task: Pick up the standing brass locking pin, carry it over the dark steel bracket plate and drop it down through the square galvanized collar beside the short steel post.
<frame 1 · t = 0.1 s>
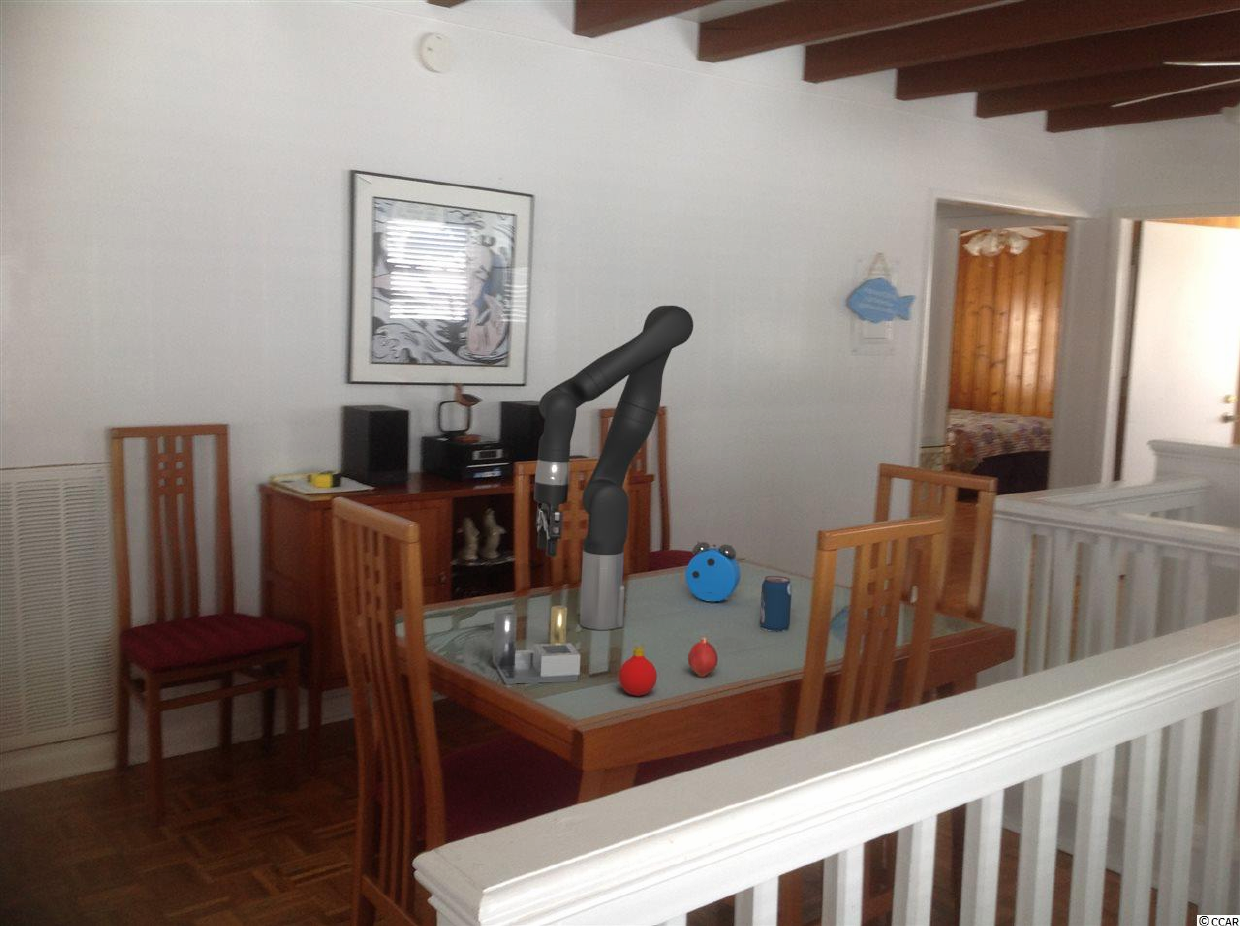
hand: (546, 552, 241), 17 cm above the table, tool pointing down, fingers open, 8 cm apart
alarm clock: (711, 601, 275), on the table
wedge pin: (557, 654, 223), on the table
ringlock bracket: (535, 673, 210), on the table
soda can: (774, 629, 251), on the table
christmas ornament: (636, 695, 201), on the table
onion: (701, 677, 213), on the table
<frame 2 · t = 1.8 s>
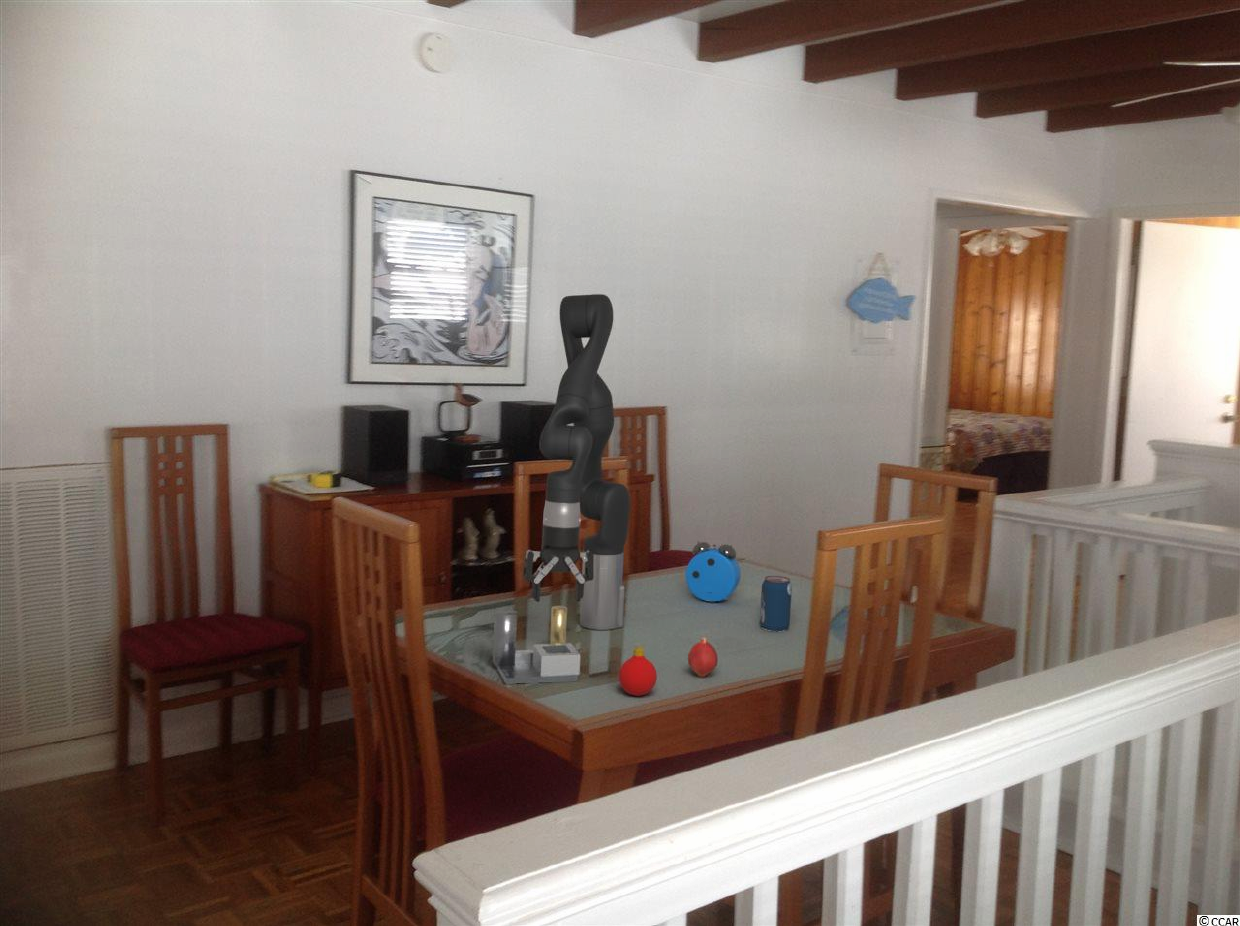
hand: (557, 600, 221), 11 cm above the table, tool pointing down, fingers open, 8 cm apart
nothing on the table moved.
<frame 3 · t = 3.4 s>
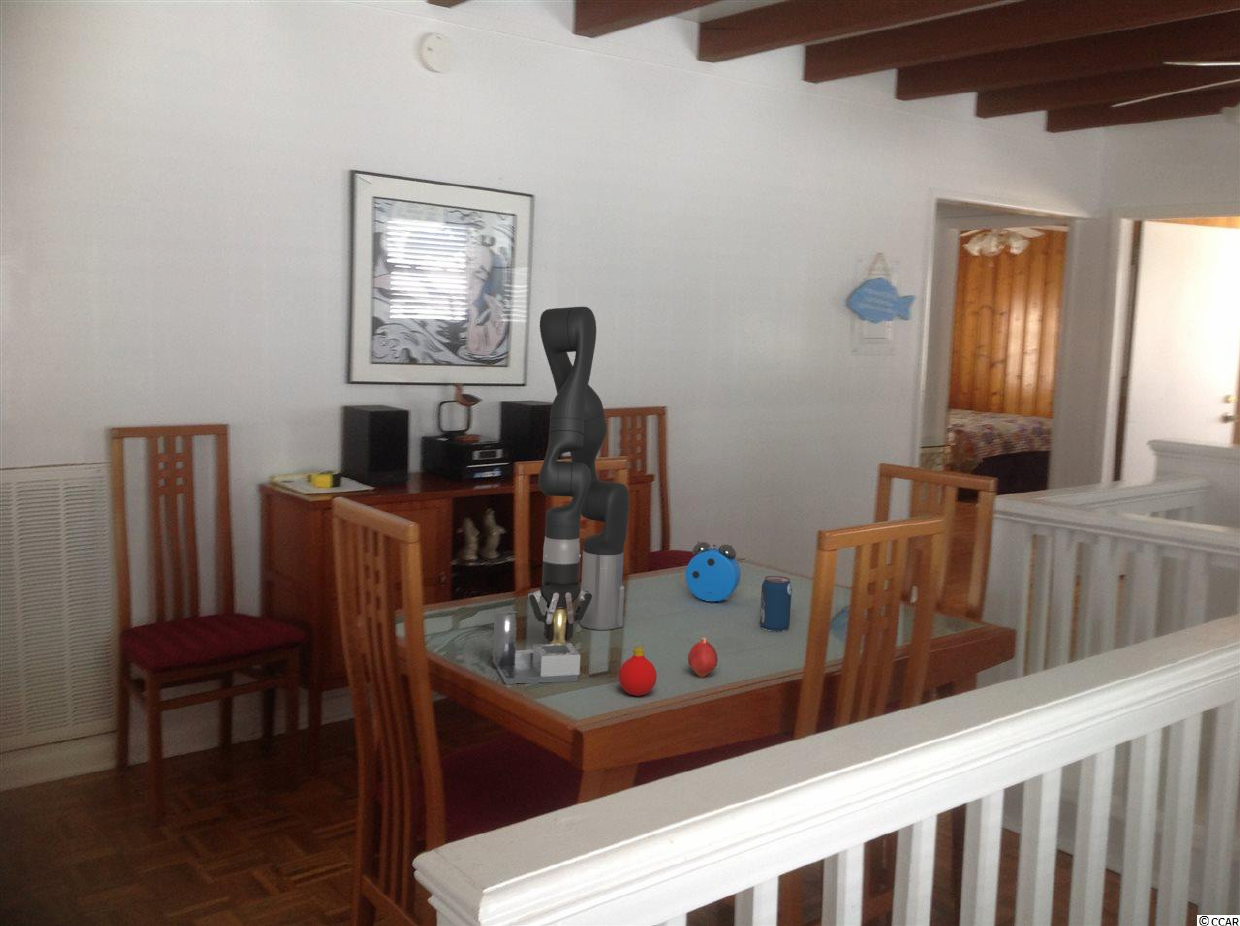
hand: (557, 640, 223), 3 cm above the table, tool pointing down, fingers closed on wedge pin, 3 cm apart
wedge pin: (557, 654, 223), on the table, touching gripper
everything else where it was.
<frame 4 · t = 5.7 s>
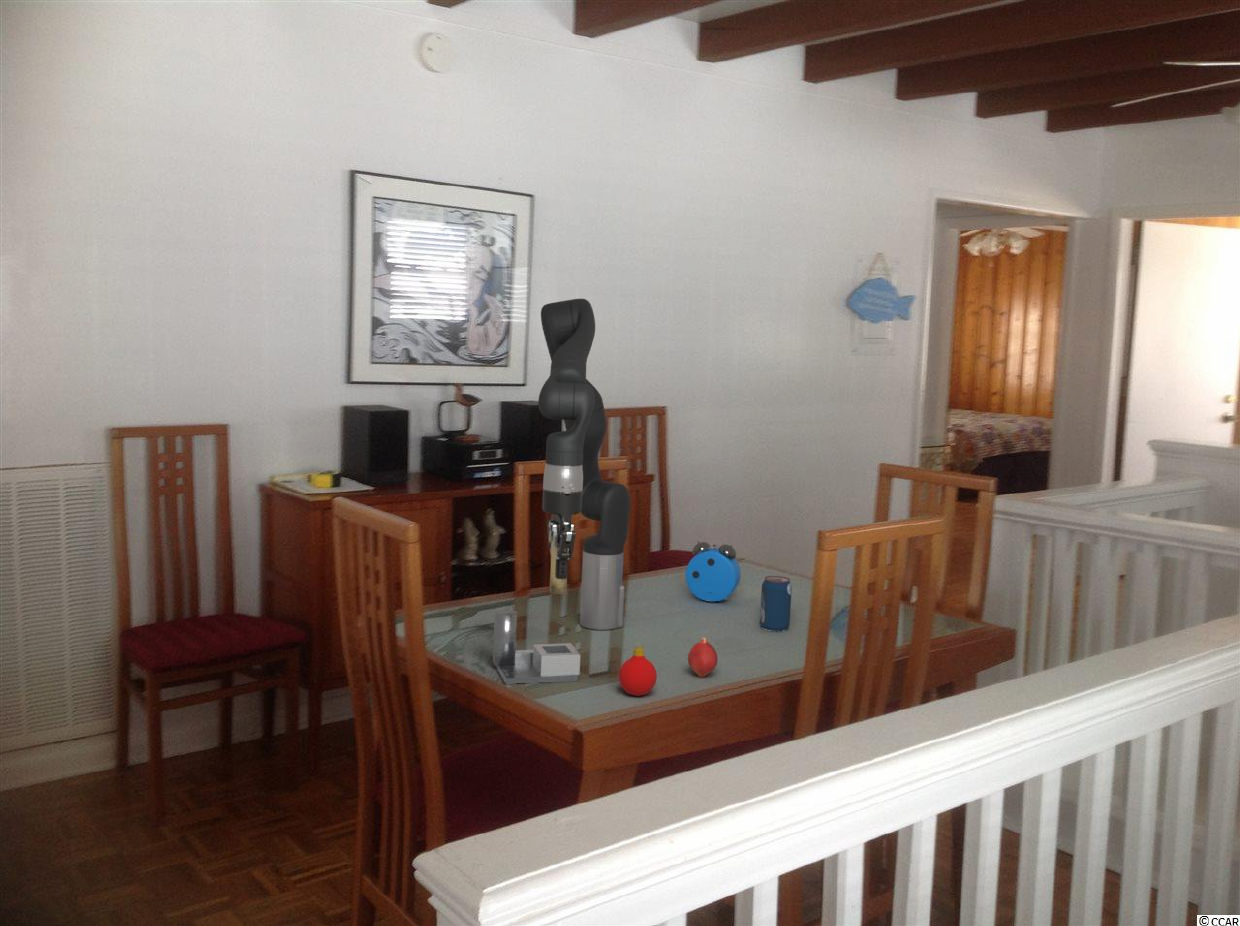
hand: (558, 575, 207), 20 cm above the table, tool pointing down, fingers closed on wedge pin, 3 cm apart
wedge pin: (557, 591, 208), point 17 cm above the table, touching gripper
everything else where it was.
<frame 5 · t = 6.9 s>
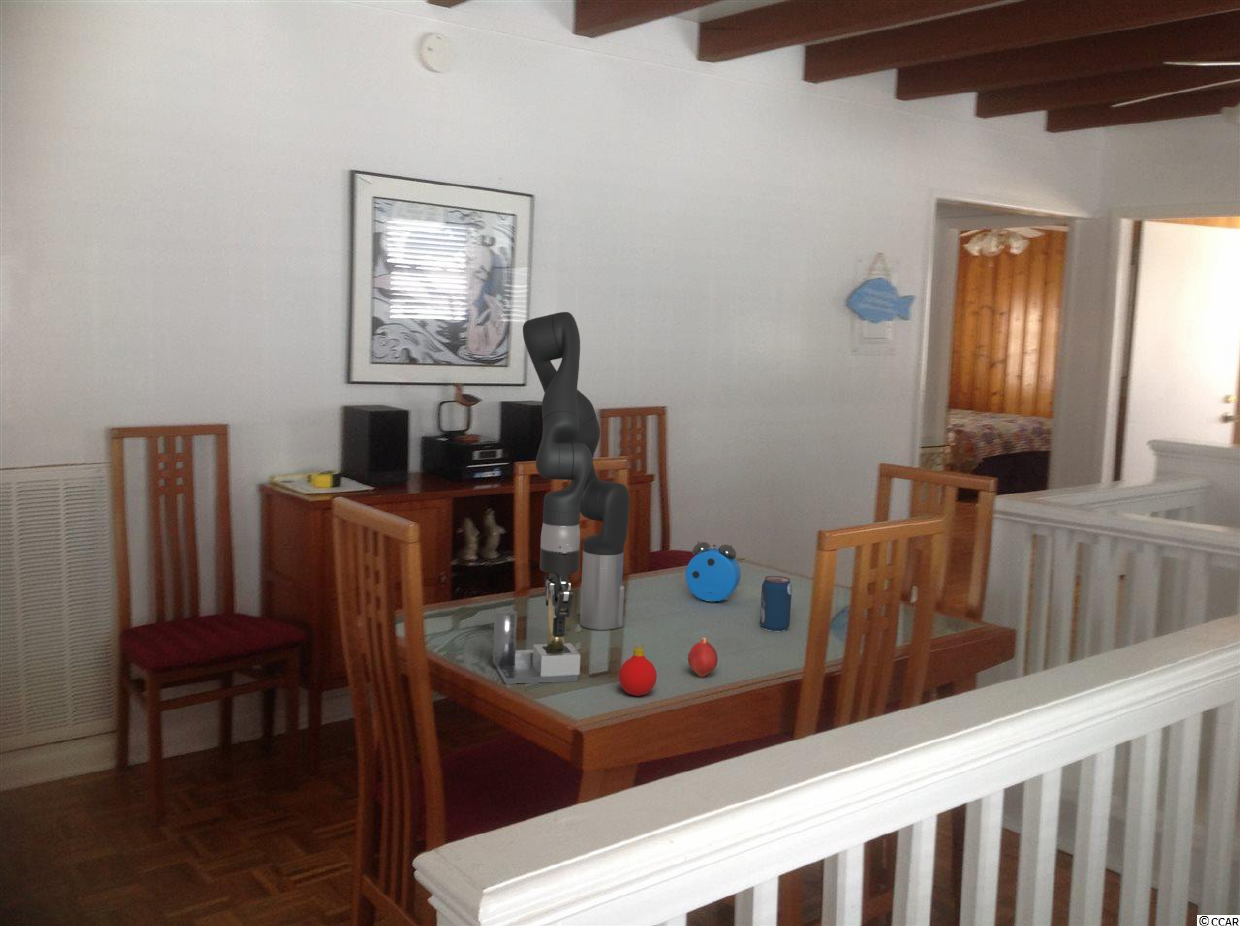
hand: (556, 633, 209), 8 cm above the table, tool pointing down, fingers closed on wedge pin, 3 cm apart
wedge pin: (555, 649, 209), point 5 cm above the table, touching gripper
everything else where it was.
when the fingers open (6 cm above the table, at t = 8.0 s): wedge pin drops 2 cm, resting on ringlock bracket.
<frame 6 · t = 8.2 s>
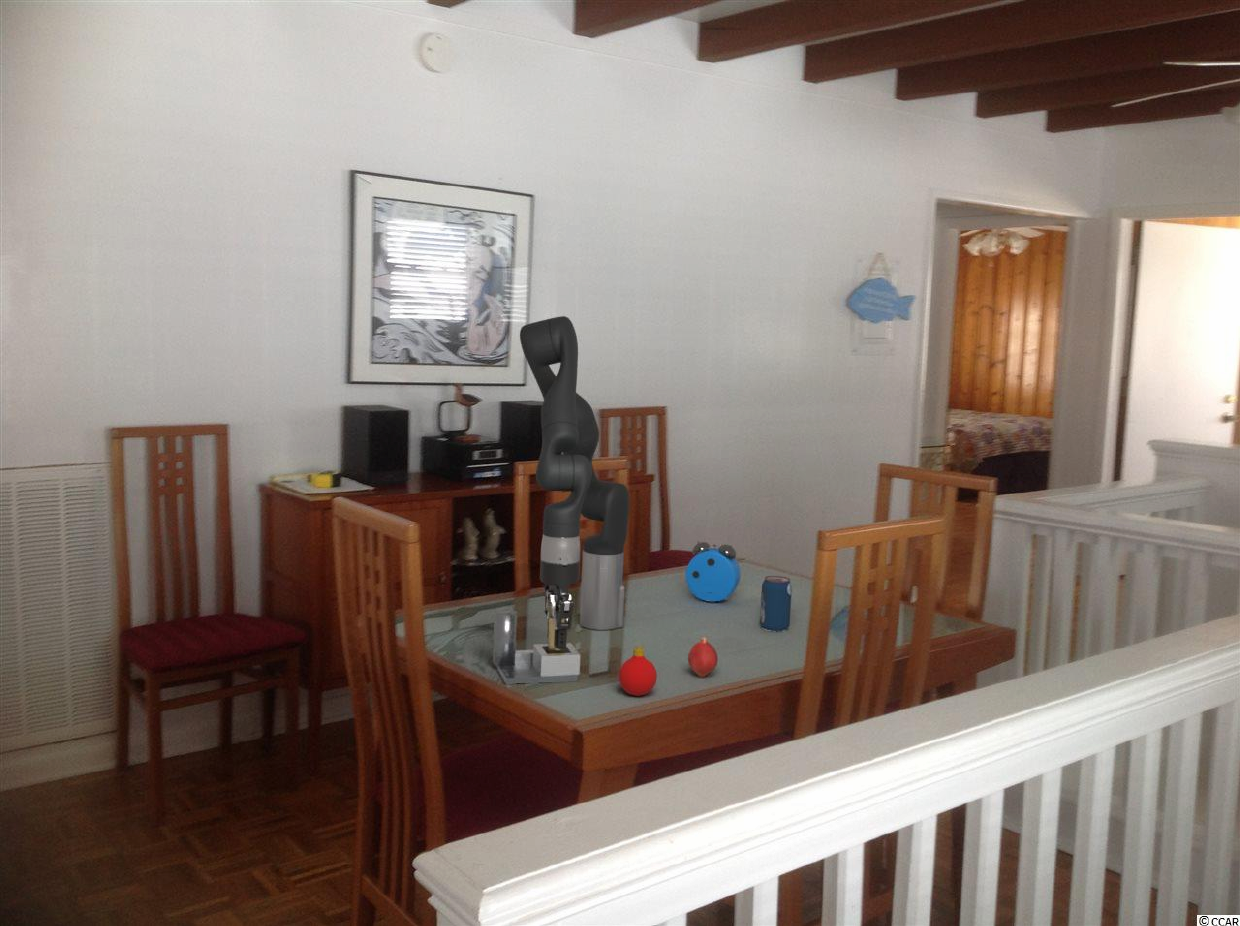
hand: (556, 643, 209), 6 cm above the table, tool pointing down, fingers open, 5 cm apart
wedge pin: (555, 669, 209), point 1 cm above the table, touching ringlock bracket
everything else where it was.
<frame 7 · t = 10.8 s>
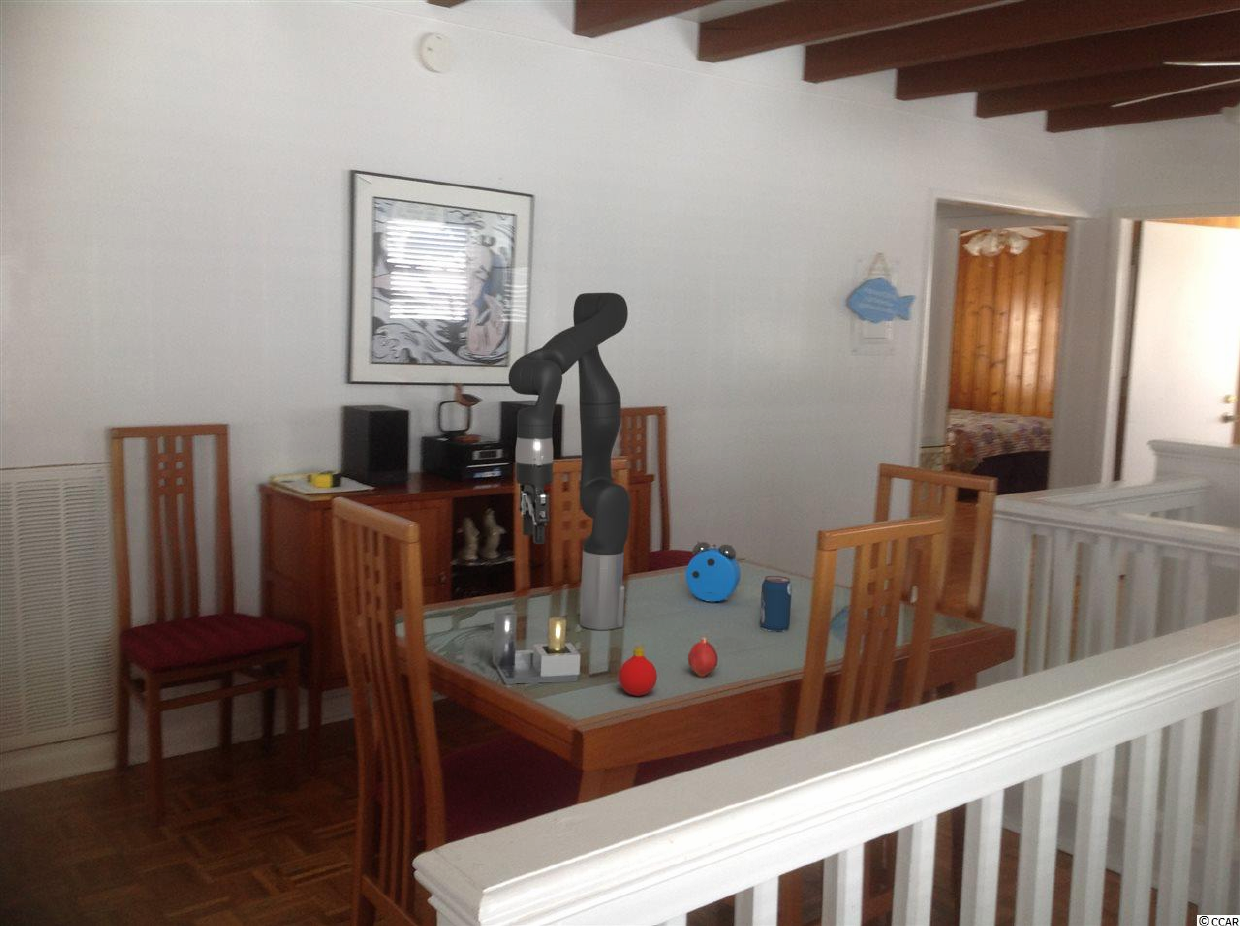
hand: (533, 539, 218), 24 cm above the table, tool pointing down, fingers open, 8 cm apart
nothing on the table moved.
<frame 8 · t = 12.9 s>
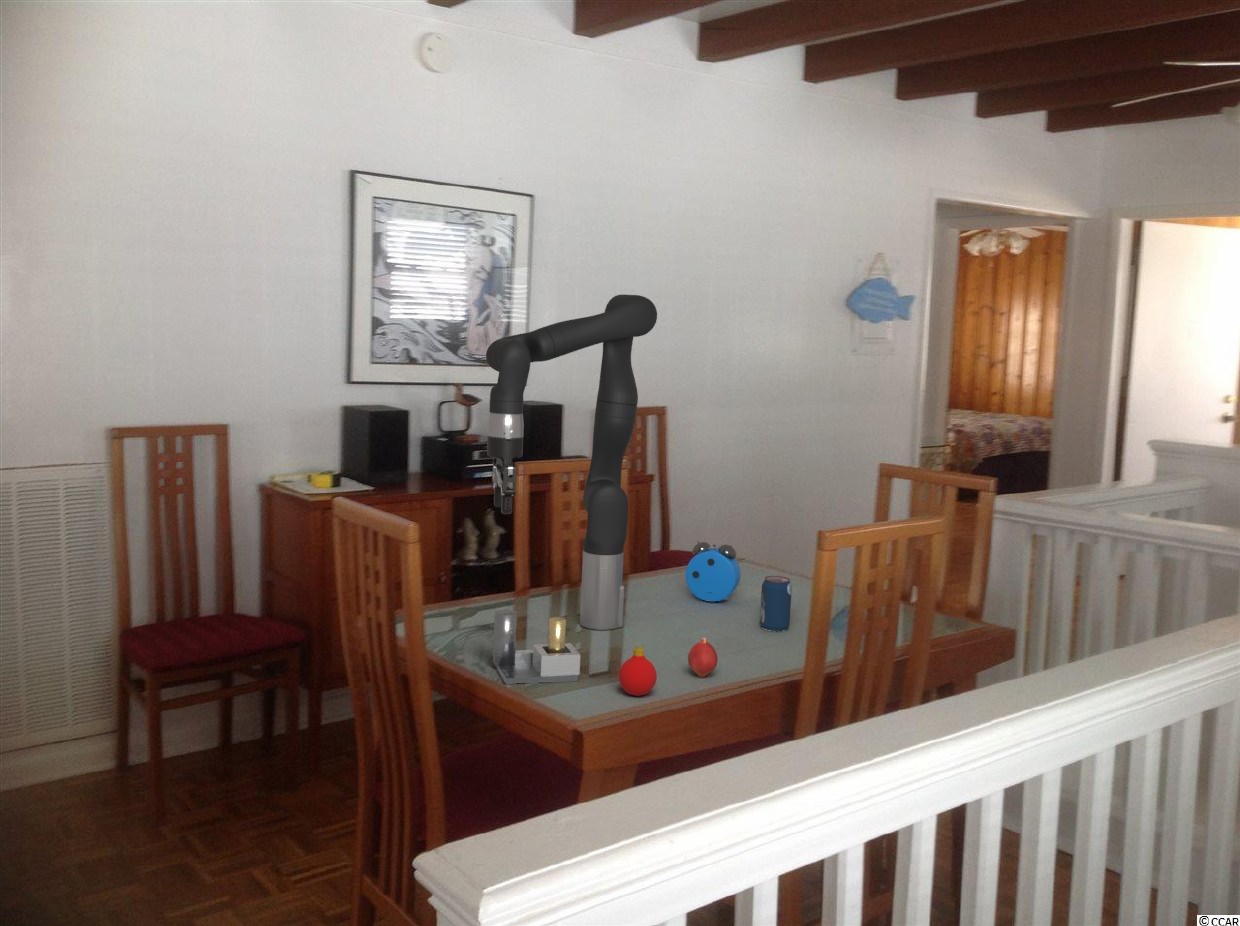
hand: (502, 510, 229), 28 cm above the table, tool pointing down, fingers open, 8 cm apart
nothing on the table moved.
at the end: wedge pin 0.0 cm from the target spot on the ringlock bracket, point 1.2 cm above the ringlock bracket's base; wedge pin tilted 0°; the gripper is holding nothing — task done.
